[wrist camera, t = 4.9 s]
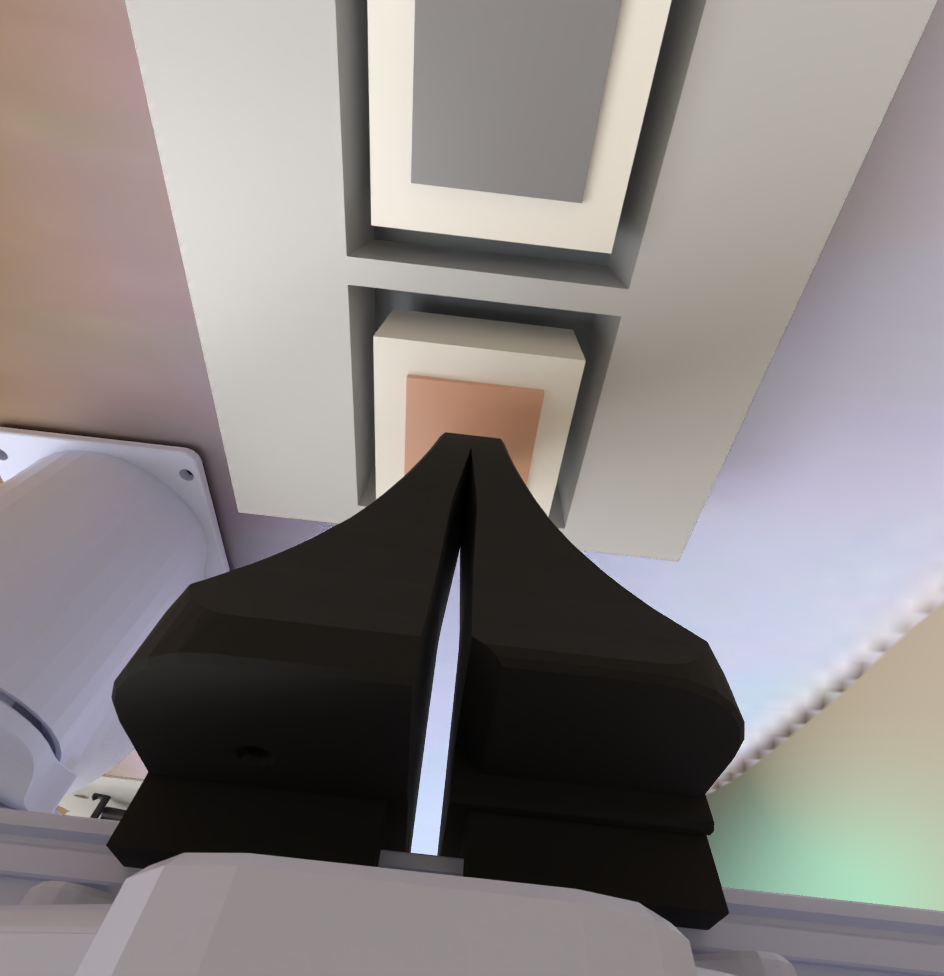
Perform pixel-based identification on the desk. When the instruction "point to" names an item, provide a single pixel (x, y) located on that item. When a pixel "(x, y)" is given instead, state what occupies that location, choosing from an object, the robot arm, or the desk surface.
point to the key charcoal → (508, 115)
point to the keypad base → (509, 244)
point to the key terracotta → (474, 392)
